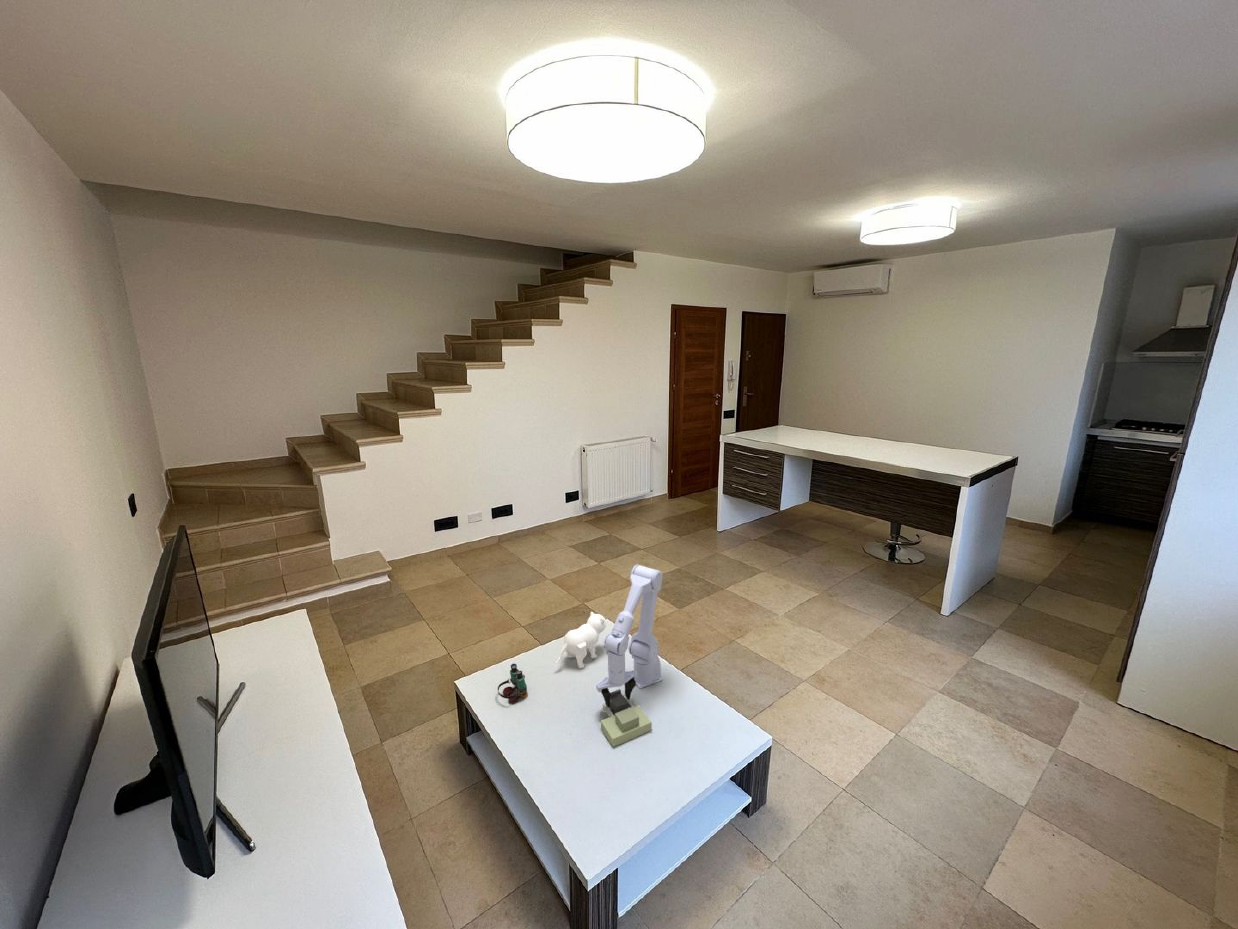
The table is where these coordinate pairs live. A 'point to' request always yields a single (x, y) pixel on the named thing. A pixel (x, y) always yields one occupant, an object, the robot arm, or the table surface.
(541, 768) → the table surface
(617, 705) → the grey overhanging lid block
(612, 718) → the green post base
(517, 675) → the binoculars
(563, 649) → the cat figurine
